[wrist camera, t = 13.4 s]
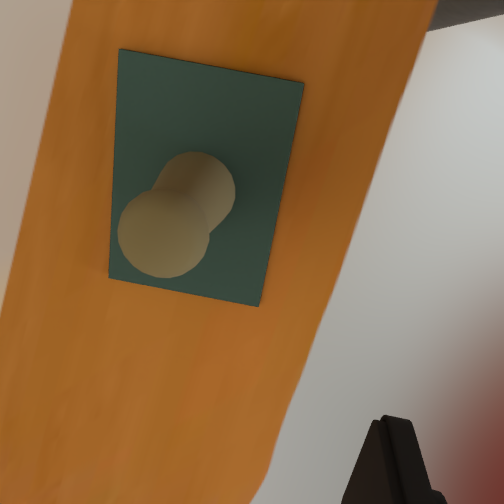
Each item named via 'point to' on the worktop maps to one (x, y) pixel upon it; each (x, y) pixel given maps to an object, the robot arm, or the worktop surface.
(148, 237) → the cork
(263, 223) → the side mat
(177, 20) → the worktop surface
